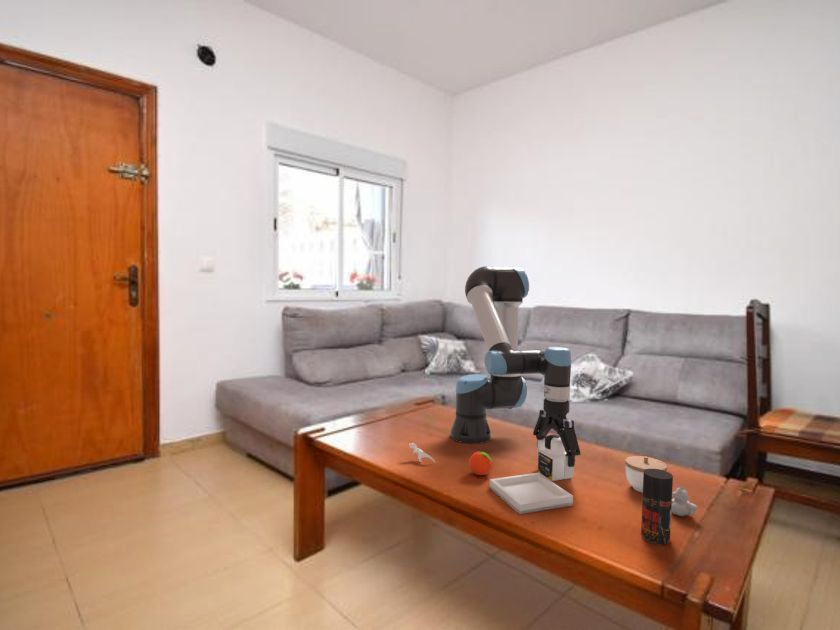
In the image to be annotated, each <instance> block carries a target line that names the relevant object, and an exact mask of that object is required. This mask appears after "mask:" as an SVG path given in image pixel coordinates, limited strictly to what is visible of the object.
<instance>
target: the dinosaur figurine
mask: <svg viewBox="0 0 840 630" xmlns="http://www.w3.org/2000/svg"><path fill="white" fill-rule="evenodd" d="M408 445H409V448H411V449H413V453H412V455H411V456H413V455H414V454H417V459H419V460H418V461H419V462H422V463H423V461H422V459H423V458H427V459H430V460H431V461H432V462H434V463H436V461H435V459H434V458H433V457H432V456H431V455H429V454H427V453H426V452H425V451H423V450H422V449H421V448H418V446H417V444H416V443H413V442H411V443H408Z"/></svg>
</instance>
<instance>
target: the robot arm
mask: <svg viewBox="0 0 840 630" xmlns="http://www.w3.org/2000/svg"><path fill="white" fill-rule="evenodd" d="M529 291H530V282H529V277H528V274H527V273H526V271H525V270H524V269H523V268H522V267H519V266H518V267H516V266H489V265H488V266H487V265H485V266H480V267H477V268H476V269H474V270H473V272H472V273H470V274H469V276H468V278H467V280H466V282H465V286H464V293H465V297H466V300H467V302H468V303H469V304H470V305H471V306H472V309H473V312H474V314H475V315H474V316H475V318H476V319H477V320H476V321H477V323H478V326H479V329H480V331H481V334H482V336H483V341H484V342H485V346H486V349H487V352H486V353H485V355H484V368H485V370H486V372H487V373H488V374H489V375H490V378H488V376H487V375H486V374H478V373H477V374H476V373H475V374H473V373H472V374H466V375H463V376H461V377H459V378H458V379H457V381H456V385H455V417H454V421H453V423H452V426H451V429H450V438H451V437H452V438H453V439H455V440H454V441H456V440H457V441H456V442H458V441H461V442H460V443H463V442H466V443H465V444H482V443H481V442H484V443H487V442H489V441H490V440H491V439H492V437H491V436H492V434H491V433H492V432H491V429H490V424H489V422H488V419H487V418H488V417H487V412H488V410H505V409H508V410H512V409H518V408H521V407H522V406H523V404H524V403H525V402H526V399H527V397H528V385H527V381H526V380H525V378H523V377H522V375H535V374H537V375H539V374H540V375H543V377H544V380H543V384H544V386H543V387H544V388H543V397H544V399H543V409H539V413H538V415H539V416H538V417H537V421H536V423H535V427H534V428H533V432H532V435H533V436H535V437H536V440H537V441H536V444H537V445H536V449H537V451H536V452H537V455H536V457H537V458H536V459H537V461H538V451H539V450H544V449H545V437H546V436H548V435H549V432H551V430H553V431H555V432H556V435H559V436H560V438H561V441H562V443H563V446H564V449H565V452H566V454H565V458H564V477H565V478H567V477H571V478H572V477H573V478H574V472H575V471H574V470H575V464H576V463H575V462H576V461H575V459H576V456H581V450H580V446H579V441H578V438H577V434H576V430H575V422H574V420H573V419H567V415H568V414H569V412H570V404H571V403H570V400H569V399H571V371H572V356H571V355H572V352H571V350H570V349H569V348H567V347H563V346H562V347H560V346H549V347H546V348H545V349H543V348H531V349H526V350H521V349H520V350H519V348H518V346H519V341H518V340H519V307H520V306H521V305H522V304H523V301H524V300H523V299H525V298H526V297H528V295H529ZM452 438H451V439H452ZM490 438H491V439H490ZM453 439H452V440H453ZM488 440H489V441H488ZM486 441H487V442H486Z"/></svg>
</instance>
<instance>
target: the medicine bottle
mask: <svg viewBox="0 0 840 630" xmlns="http://www.w3.org/2000/svg"><path fill="white" fill-rule="evenodd" d="M544 439H545V449H544V450H539V451H538V450H537V451H538V460H537V473H540V474H541V475H543V476H544V477H546V478H547V479H549V480H550V481H552V482H556V481H560V480H561V481H563V480H568V479H572V477H567V478H565V477H564V458H565V454H566V451H565V449H564V446H563V443H562V441H561V438H560V436H559V434H550V435H549V434H548V435H546V437H545V438H544Z"/></svg>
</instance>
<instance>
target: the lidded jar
mask: <svg viewBox="0 0 840 630" xmlns="http://www.w3.org/2000/svg"><path fill="white" fill-rule="evenodd" d="M624 464H625V465H624V466H625V467H624V468H625V477H626V479H627V482H628V483H629V484H630V485H631V487H632V488H633V490H635V491H637V492H638V493H642V494H643V474H644V470H645V469H660V470H664V471H667V472H668V465H667V464H666V463H665V462H663V461H662V460H660V459H656V458H654V457H649V456H643V455H642V456H641V455H631V456H627V457H626V458H625V459H624Z"/></svg>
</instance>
